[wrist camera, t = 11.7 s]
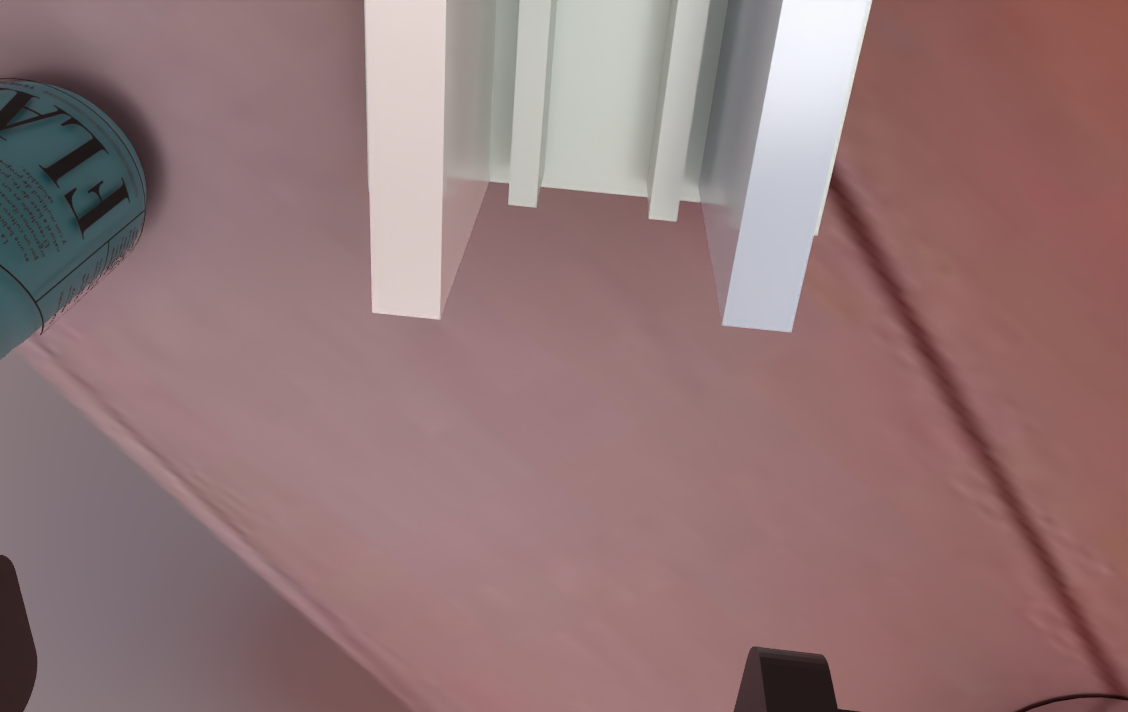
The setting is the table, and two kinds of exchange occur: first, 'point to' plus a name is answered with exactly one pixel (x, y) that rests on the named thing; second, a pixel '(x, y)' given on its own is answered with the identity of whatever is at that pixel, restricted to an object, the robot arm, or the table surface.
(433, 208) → the plate
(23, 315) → the beverage bottle
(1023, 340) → the table surface
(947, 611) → the table surface
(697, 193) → the rack
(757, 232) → the plate
